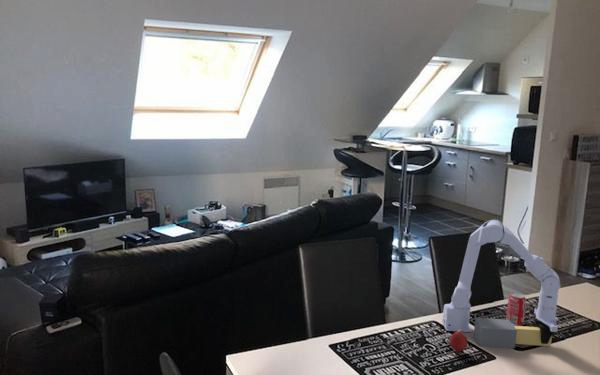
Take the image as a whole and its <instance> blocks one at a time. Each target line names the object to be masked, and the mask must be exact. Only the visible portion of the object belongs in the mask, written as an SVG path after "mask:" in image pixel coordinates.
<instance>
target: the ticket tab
mask: <svg viewBox="0 0 600 375" xmlns="http://www.w3.org/2000/svg"><path fill="white" fill-rule="evenodd" d="M515 328H516V329H517V334H516V342H515V345H523V346H524V345H525V346H540V347H542V346H543V347H552V346H551V345H552V340H553V335H552V336H551V338H550V340H549V342H548V344H542V343H541V332H540V328H539V327H536V326H527V325H526V326H523V325H521V326H515Z"/></svg>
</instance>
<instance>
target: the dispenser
mask: <svg viewBox="0 0 600 375" xmlns="http://www.w3.org/2000/svg"><path fill="white" fill-rule="evenodd" d="M516 334H517V329H516V328H515V326H514V325H513V324H512V323H511V322H510V321H509V320H506V318H503V319H501V318H488V317H487V318H485V317H475V318H474V328H473V337H474V339H475V340H476V342H477V344H478V346H479V347H484V348H485V347H486V348H501V349H502V348H503V349H516V344H515V342H516Z"/></svg>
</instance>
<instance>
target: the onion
mask: <svg viewBox="0 0 600 375" xmlns="http://www.w3.org/2000/svg"><path fill="white" fill-rule="evenodd" d="M449 346H450V347H451V348H452V349H453V350H454V351H455V352H457V353H460V352H462V351H464V350H465V349H466V348H467V347H468V339H467V337H466V335H465V334H464V333H463V332H462V331H461V330H459V331H454V332H453V333H452V334H451V335H450V338H449Z"/></svg>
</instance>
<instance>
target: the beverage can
mask: <svg viewBox="0 0 600 375" xmlns="http://www.w3.org/2000/svg"><path fill="white" fill-rule="evenodd" d="M507 300H508V302H507V309H506V310H507V311H506V318H505V320H509V321H510V322H511V323H512V324H513V325H514V326H523V325H524V322H525V314H526V313H525V312H526V305H527V298H526V296H525V294H523V293H521V292H520V293H519V292H511V293H510V295H509V296H508V299H507Z"/></svg>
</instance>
